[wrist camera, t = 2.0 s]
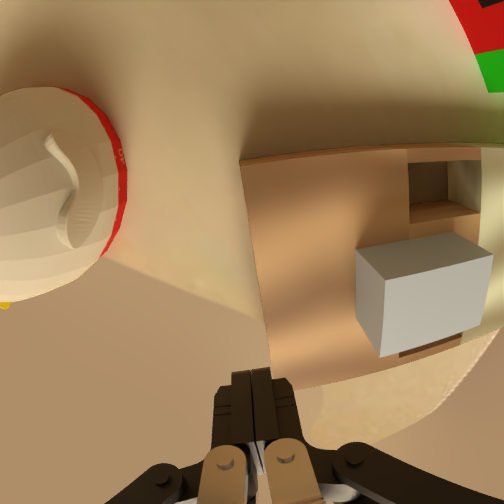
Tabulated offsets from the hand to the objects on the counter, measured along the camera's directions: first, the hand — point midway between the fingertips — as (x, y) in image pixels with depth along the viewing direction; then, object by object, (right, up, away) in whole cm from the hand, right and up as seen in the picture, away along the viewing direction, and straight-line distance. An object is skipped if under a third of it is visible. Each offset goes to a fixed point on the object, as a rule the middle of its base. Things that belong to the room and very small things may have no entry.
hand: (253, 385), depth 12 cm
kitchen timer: (-15, +10, +7) cm, 19 cm away
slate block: (+9, +4, +6) cm, 12 cm away
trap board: (+12, +6, +9) cm, 16 cm away
